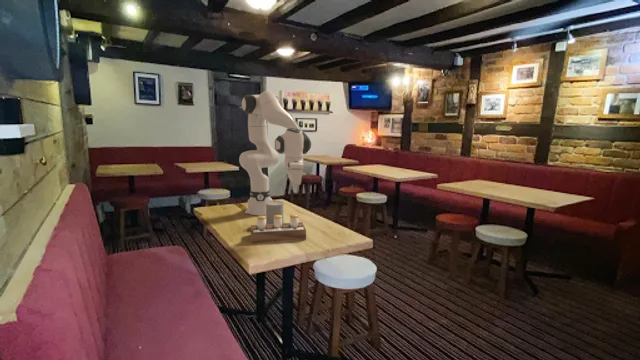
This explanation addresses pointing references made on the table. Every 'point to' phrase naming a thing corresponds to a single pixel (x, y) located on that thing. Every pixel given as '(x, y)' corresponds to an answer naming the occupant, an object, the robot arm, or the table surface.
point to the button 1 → (261, 222)
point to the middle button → (277, 221)
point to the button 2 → (293, 221)
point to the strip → (278, 229)
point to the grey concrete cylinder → (273, 211)
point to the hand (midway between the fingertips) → (294, 190)
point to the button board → (277, 234)
